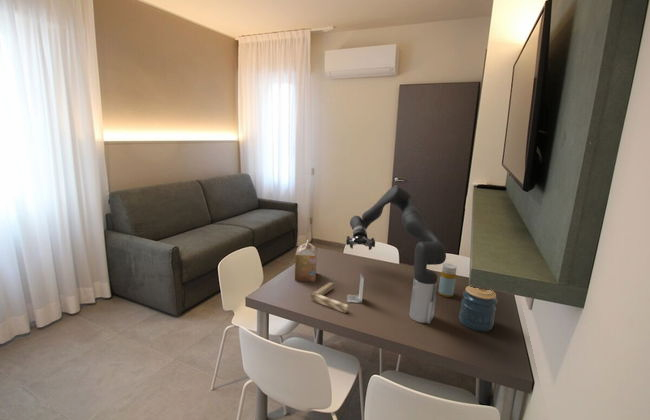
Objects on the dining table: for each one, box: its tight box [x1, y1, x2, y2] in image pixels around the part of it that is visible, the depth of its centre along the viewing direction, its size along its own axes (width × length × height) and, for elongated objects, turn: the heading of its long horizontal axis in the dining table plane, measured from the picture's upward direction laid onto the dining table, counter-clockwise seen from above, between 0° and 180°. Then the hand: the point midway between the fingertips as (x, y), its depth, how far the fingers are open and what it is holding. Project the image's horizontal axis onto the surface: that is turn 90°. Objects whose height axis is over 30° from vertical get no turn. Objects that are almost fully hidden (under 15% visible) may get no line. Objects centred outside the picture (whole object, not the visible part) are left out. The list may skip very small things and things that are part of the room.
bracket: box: [346, 273, 365, 304], centre depth 142 cm, size 7×5×12 cm
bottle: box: [438, 262, 457, 298], centre depth 152 cm, size 7×7×15 cm
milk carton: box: [294, 239, 318, 282], centre depth 164 cm, size 11×11×19 cm
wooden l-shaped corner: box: [310, 281, 349, 314], centre depth 143 cm, size 18×16×3 cm
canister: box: [458, 285, 499, 332], centre depth 128 cm, size 13×13×18 cm
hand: (361, 247), depth 150 cm, fingers open, 8 cm apart
